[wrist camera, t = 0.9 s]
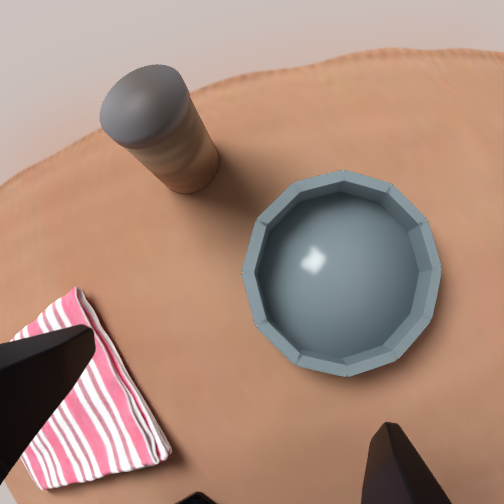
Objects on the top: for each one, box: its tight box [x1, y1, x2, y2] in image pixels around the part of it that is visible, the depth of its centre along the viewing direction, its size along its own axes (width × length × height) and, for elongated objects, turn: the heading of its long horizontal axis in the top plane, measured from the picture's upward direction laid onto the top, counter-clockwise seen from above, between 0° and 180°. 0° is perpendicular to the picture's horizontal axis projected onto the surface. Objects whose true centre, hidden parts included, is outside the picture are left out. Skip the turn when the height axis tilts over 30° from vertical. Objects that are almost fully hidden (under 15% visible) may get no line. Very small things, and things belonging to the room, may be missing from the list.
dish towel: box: [10, 287, 172, 491], centre depth 22 cm, size 17×23×4 cm
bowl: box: [241, 170, 442, 377], centre depth 21 cm, size 14×14×3 cm
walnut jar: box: [100, 65, 219, 193], centre depth 20 cm, size 5×5×10 cm
